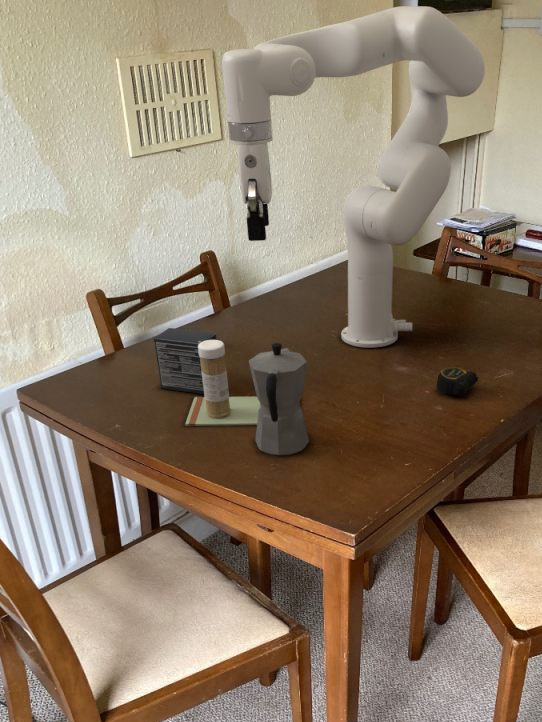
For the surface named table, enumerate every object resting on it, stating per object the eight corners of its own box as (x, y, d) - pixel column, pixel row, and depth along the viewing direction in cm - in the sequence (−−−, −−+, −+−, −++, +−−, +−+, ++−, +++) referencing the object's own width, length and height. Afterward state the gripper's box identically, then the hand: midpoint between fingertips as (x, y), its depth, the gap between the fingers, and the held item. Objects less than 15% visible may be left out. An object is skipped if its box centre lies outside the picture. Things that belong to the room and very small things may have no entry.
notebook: (299, 397, 147) (299, 395, 146) (296, 424, 137) (296, 422, 137) (194, 398, 147) (194, 396, 146) (185, 426, 138) (185, 423, 137)
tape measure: (462, 402, 144) (463, 383, 142) (429, 393, 147) (430, 375, 145) (477, 388, 149) (479, 370, 147) (445, 380, 152) (447, 363, 150)
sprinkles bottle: (222, 405, 143) (215, 336, 136) (235, 413, 140) (229, 344, 133) (201, 412, 141) (192, 343, 133) (214, 421, 138) (206, 350, 130)
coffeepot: (260, 424, 138) (253, 327, 128) (313, 425, 137) (310, 328, 127) (246, 468, 125) (237, 365, 115) (304, 470, 124) (300, 366, 114)
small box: (223, 382, 153) (218, 331, 147) (208, 396, 148) (202, 344, 142) (176, 375, 156) (169, 325, 150) (159, 388, 151) (151, 337, 145)
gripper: (269, 140, 127) (277, 245, 136) (274, 123, 141) (281, 220, 151) (224, 141, 127) (235, 247, 136) (233, 124, 141) (242, 221, 151)
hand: (259, 232), depth 144 cm, fingers open, 9 cm apart
